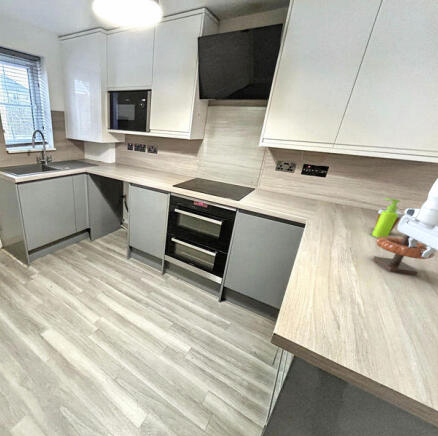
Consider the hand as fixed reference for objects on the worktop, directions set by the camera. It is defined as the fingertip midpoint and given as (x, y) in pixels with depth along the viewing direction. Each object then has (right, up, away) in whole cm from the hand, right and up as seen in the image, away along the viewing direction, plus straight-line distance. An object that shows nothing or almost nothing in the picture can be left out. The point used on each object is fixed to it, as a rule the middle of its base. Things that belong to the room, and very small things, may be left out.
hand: (417, 253), depth 85 cm
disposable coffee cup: (+32, +5, +45) cm, 55 cm away
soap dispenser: (+24, +3, +38) cm, 45 cm away
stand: (0, -7, +9) cm, 11 cm away
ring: (+1, +2, +5) cm, 6 cm away
